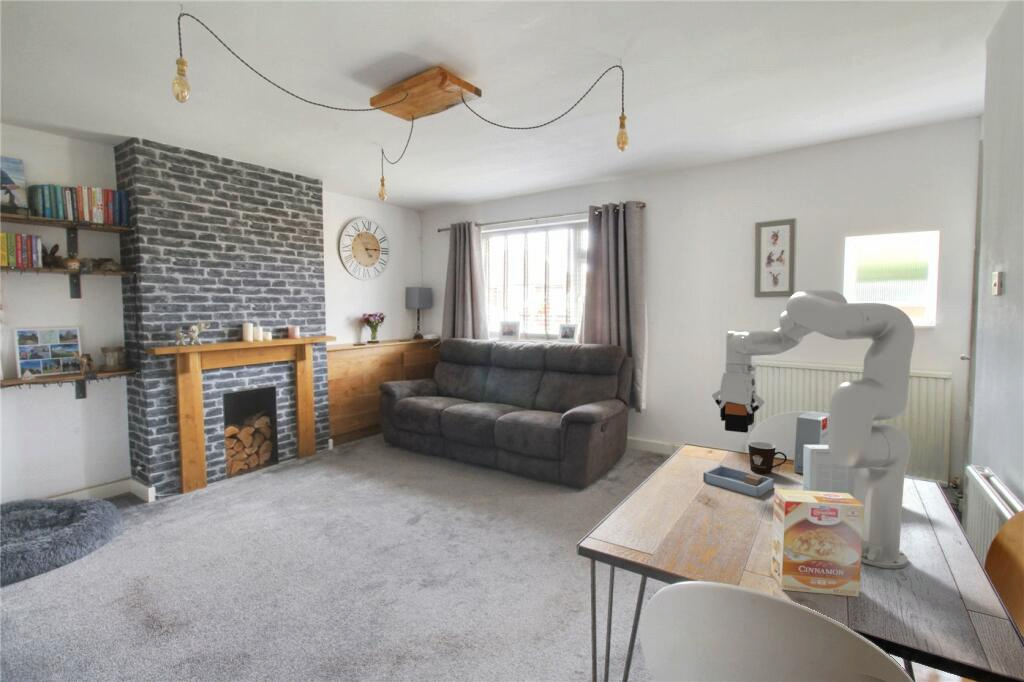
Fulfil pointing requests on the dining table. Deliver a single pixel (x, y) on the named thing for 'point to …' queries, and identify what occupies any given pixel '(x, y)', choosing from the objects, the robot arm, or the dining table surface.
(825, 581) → the coffeecake box
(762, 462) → the coffee mug
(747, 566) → the dining table surface
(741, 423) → the battery
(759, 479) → the walnut block
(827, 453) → the skincare box
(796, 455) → the hard drive box
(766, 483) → the bin
